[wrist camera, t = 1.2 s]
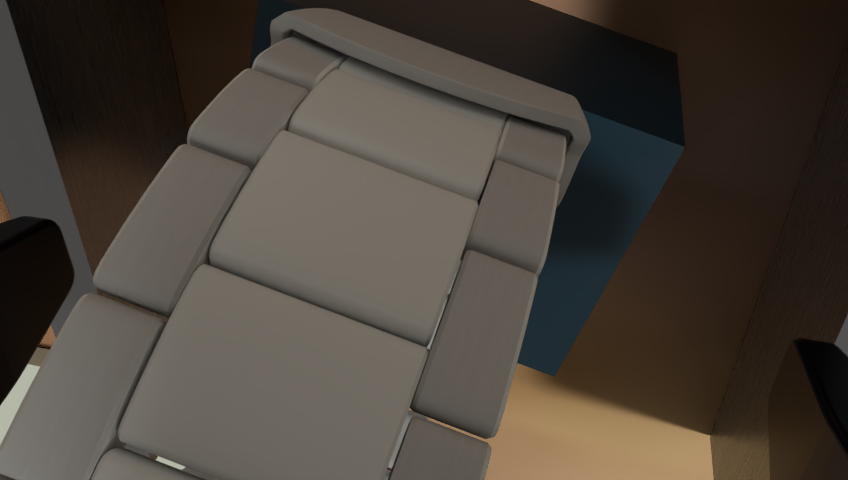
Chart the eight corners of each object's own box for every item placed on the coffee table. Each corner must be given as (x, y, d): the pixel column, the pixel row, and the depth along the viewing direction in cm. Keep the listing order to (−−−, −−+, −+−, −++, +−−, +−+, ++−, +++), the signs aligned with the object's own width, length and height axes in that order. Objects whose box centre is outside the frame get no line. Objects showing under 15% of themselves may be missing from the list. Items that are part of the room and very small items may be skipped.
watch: (284, 236, 15) (-188, 916, 7) (365, -191, 11) (-969, 252, 2) (538, 332, 15) (394, 1158, 7) (742, -59, 10) (1250, 1144, 2)
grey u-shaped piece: (770, 448, 16) (797, 609, 13) (183, 339, 18) (98, 453, 15) (1127, -395, 8) (1398, -456, 5) (10, -379, 10) (-224, -413, 8)
